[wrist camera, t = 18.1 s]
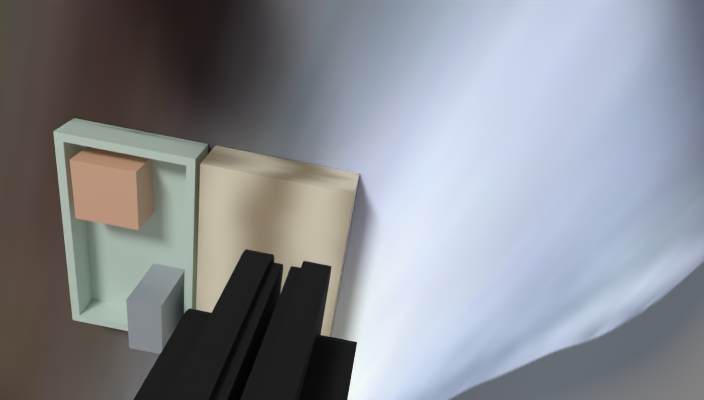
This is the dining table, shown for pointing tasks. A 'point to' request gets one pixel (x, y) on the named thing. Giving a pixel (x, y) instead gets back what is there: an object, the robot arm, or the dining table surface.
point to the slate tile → (155, 308)
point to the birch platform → (271, 219)
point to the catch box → (124, 243)
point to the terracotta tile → (112, 187)
